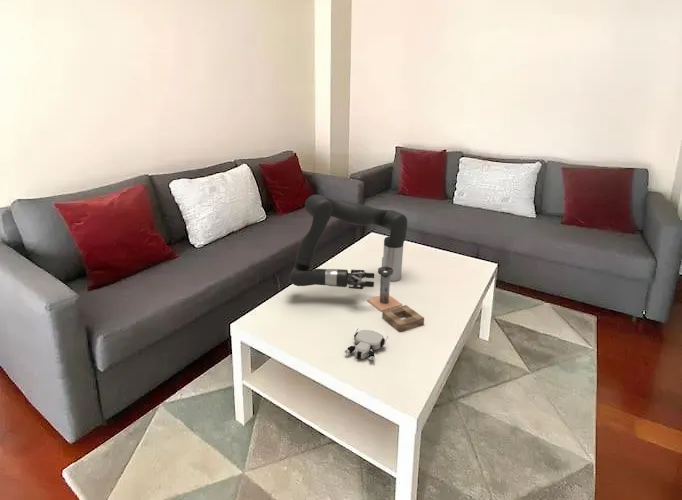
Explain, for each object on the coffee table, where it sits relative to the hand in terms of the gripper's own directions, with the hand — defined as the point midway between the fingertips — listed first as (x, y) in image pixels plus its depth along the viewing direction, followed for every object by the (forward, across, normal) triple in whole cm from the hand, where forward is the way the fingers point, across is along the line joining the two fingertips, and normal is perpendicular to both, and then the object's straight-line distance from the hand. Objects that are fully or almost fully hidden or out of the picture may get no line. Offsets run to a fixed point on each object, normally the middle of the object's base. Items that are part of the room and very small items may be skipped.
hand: (374, 280), depth 198 cm
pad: (+5, 0, +11) cm, 12 cm away
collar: (+12, -14, +11) cm, 22 cm away
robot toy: (-2, -36, +12) cm, 38 cm away
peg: (+5, 0, +10) cm, 11 cm away
